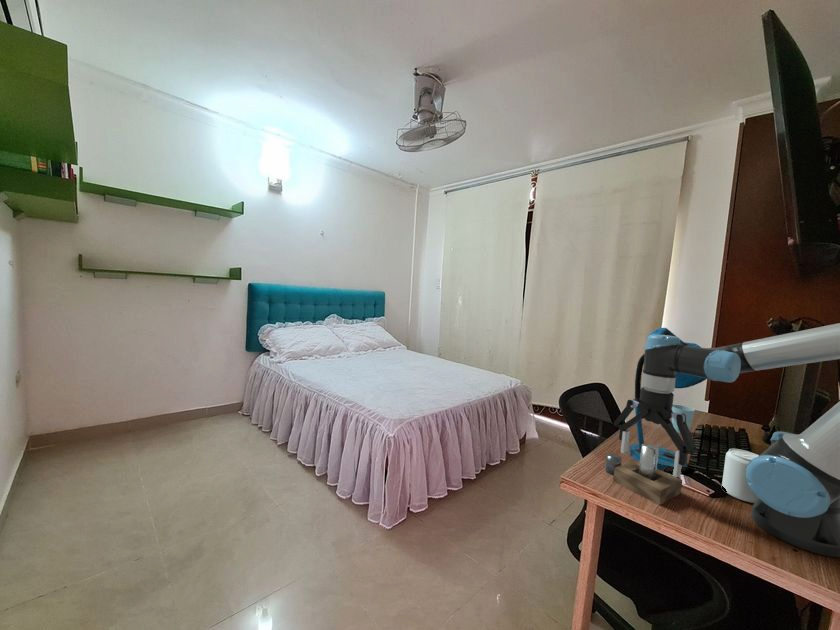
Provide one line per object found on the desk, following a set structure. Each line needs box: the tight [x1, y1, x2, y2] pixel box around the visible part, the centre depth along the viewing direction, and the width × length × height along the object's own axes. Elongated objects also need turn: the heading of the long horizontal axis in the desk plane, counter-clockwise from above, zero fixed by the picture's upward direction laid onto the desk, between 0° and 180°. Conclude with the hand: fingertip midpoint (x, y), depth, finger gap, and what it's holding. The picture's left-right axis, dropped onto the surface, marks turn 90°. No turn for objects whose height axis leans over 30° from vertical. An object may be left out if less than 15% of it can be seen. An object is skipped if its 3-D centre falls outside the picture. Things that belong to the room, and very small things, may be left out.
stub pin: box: [604, 452, 622, 476], centre depth 100 cm, size 4×4×5 cm
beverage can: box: [721, 448, 760, 504], centre depth 92 cm, size 8×8×12 cm
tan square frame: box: [612, 459, 683, 506], centre depth 93 cm, size 12×12×4 cm
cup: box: [671, 404, 696, 434], centre depth 137 cm, size 8×8×10 cm
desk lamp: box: [628, 327, 707, 471], centre depth 109 cm, size 16×22×45 cm
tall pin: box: [639, 443, 659, 481], centre depth 93 cm, size 4×4×12 cm
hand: (648, 462), depth 93 cm, fingers open, 13 cm apart
